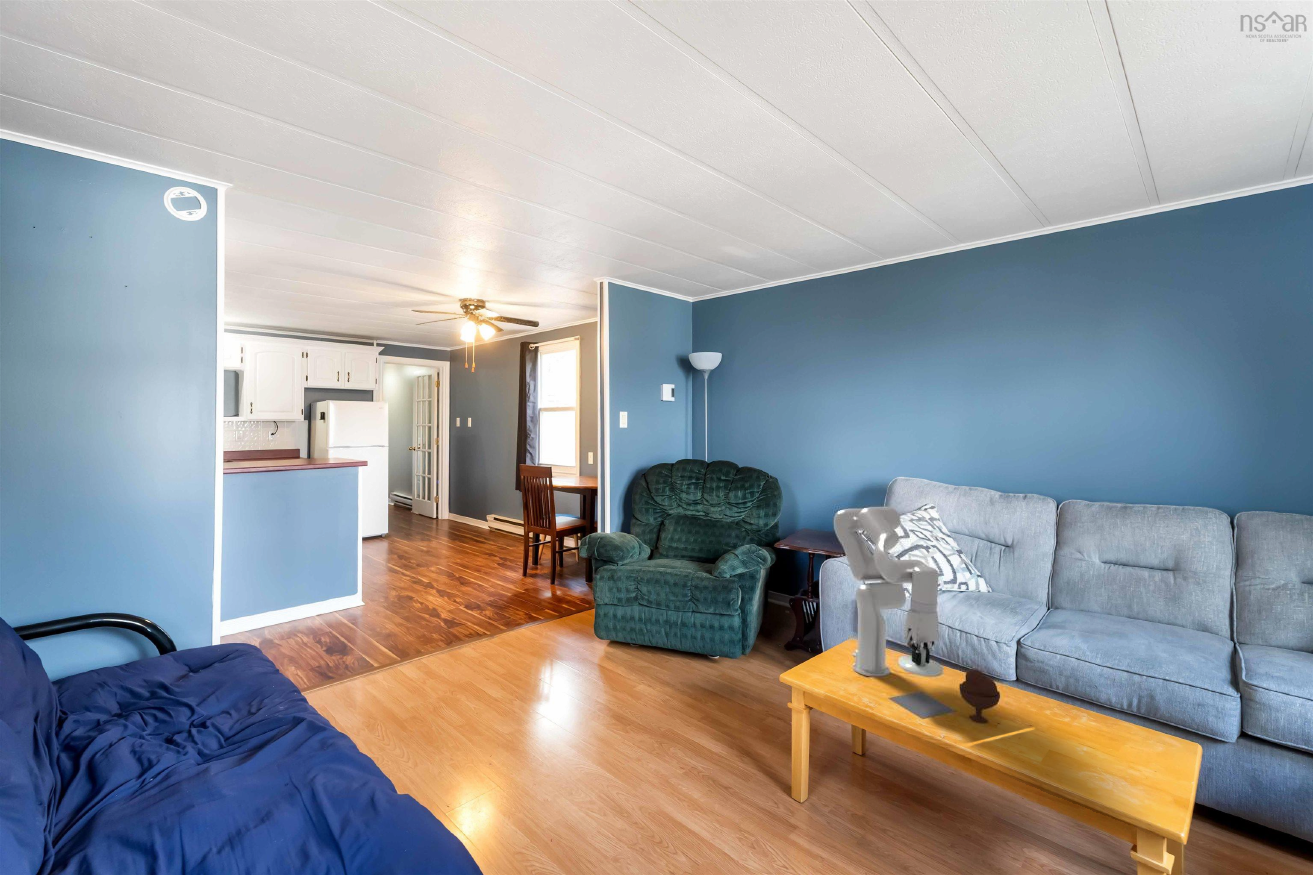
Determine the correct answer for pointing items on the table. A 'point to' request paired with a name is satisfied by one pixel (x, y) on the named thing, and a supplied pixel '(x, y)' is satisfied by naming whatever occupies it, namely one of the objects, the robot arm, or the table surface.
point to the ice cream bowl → (979, 693)
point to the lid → (921, 666)
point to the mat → (922, 705)
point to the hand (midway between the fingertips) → (920, 662)
